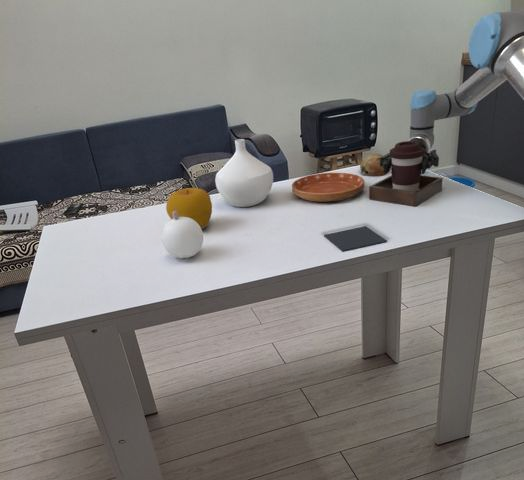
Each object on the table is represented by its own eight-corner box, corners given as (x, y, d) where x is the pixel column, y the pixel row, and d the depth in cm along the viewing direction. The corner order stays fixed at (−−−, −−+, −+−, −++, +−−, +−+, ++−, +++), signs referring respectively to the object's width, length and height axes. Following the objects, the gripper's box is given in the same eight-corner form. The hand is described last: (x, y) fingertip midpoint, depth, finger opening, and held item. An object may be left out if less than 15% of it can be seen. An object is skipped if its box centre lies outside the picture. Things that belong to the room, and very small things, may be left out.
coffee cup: (405, 202, 157) (407, 149, 149) (381, 196, 164) (382, 145, 156) (429, 194, 161) (433, 142, 153) (405, 188, 168) (407, 138, 160)
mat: (365, 227, 144) (365, 225, 144) (386, 242, 134) (387, 240, 134) (324, 236, 142) (324, 234, 141) (342, 251, 132) (342, 250, 132)
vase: (231, 193, 183) (223, 134, 173) (282, 193, 177) (277, 132, 166) (209, 211, 169) (199, 148, 158) (264, 212, 163) (257, 146, 152)
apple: (212, 235, 151) (205, 194, 145) (167, 238, 152) (159, 198, 146) (218, 219, 162) (212, 181, 156) (176, 222, 163) (168, 185, 157)
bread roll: (357, 183, 190) (351, 164, 184) (374, 163, 192) (368, 145, 187) (380, 187, 183) (374, 168, 178) (397, 167, 186) (392, 147, 180)
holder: (441, 191, 162) (442, 177, 160) (415, 206, 153) (416, 192, 151) (395, 185, 172) (396, 172, 170) (369, 199, 163) (369, 186, 161)
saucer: (340, 178, 184) (340, 167, 182) (378, 194, 166) (379, 182, 164) (280, 192, 178) (279, 181, 176) (313, 210, 159) (313, 198, 157)
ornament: (158, 259, 140) (148, 215, 133) (187, 246, 146) (178, 202, 139) (185, 267, 134) (176, 221, 127) (213, 252, 140) (206, 207, 133)
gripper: (452, 161, 169) (443, 182, 152) (380, 161, 178) (365, 181, 161) (454, 136, 165) (446, 155, 148) (381, 138, 173) (365, 156, 157)
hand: (404, 169), depth 154 cm, fingers closed on coffee cup, 10 cm apart
